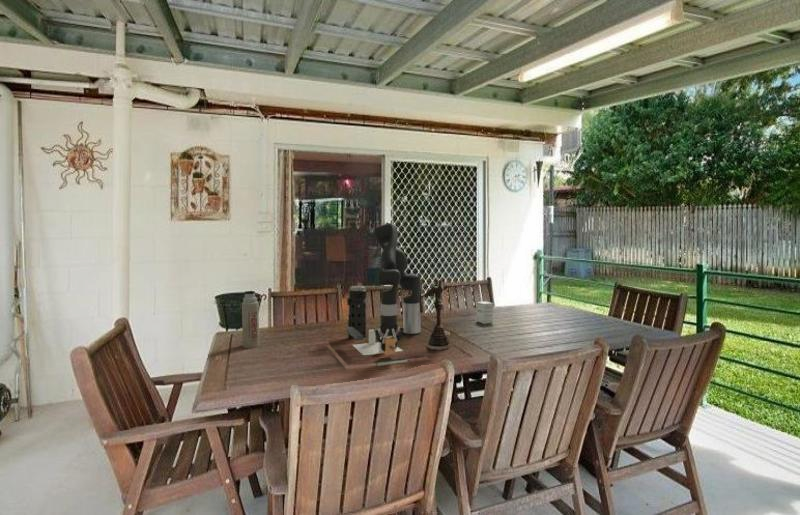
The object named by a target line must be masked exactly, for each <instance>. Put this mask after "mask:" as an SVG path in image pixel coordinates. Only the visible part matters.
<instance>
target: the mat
mask: <svg viewBox="0 0 800 515" xmlns="http://www.w3.org/2000/svg"><path fill="white" fill-rule="evenodd" d="M374 363H375V364H376V365H377V366H379V367H380V366H385V365H386V366H387V365H393V364H394V365H396V364H401V363H402V364H404V363H408V360H407V359H406V358H397V359H389V360H381V361H374Z"/></svg>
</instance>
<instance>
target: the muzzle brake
mask: <svg viewBox="0 0 800 515" xmlns="http://www.w3.org/2000/svg"><path fill="white" fill-rule="evenodd" d="M367 295H368V294H367V289H366V286H365V285H352V286H350V287H349V290H348V298H347V301H346V303H347V306H348V315H347V317H348V320H347V327H353V328H354V329H356V330H357V331H358V332H359V333H361V334H362V335H363V339H364V338H367V301H366V299H367ZM347 335H348V338H349V339H351V340H356V339H355V338H354V337H352V336H351V335H350V334H349V333H348V332H347Z"/></svg>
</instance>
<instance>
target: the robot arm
mask: <svg viewBox="0 0 800 515" xmlns="http://www.w3.org/2000/svg"><path fill="white" fill-rule="evenodd" d="M397 229H398V228H397V227H396V224H394V223H393V222H388V223H385V224H381V225H379V226H376V227H374V229H373V235H374V238H375V240H376V242H377V243H378V245H379V246H380V247H381V249H382V251H381V254H380V267H379V270H378V272H377V275H376V281H377V283H378V284H379V285H381V286H391V288H389V289H384V290H382V291H381V294H380V326H379V328H375V329H374V332H375V340H376V341H377V342H380V343H381V349H382V351H385V339H386V338H387V337H390V336H392V337H393V338H395V350H396V348H397V347H398V342H399V341H401V340H402V336H403V333H404V334H407V335H408V334H409V335H416V334H420V333H421V331H422V330H421V329H422V328H421V321H422V318H421V315H420V299H421V283H422V282H421V277H420V275H419V274H413V273H411V274H410V273H409V274H408V273H407V272H406V269H407V267H408V262H409V261H408V258H407V256H406V253H405V252H404V251H403V250H402V249H401V248H400V247H398V238H399V234H398V230H397ZM399 286H400V287H401V289H402V290H403V291H410V292H411V294H409V295H407V296H404V297H403V300H402V303H403V304H402V308H403V309H402V312H403V314H402V323H403V325H402V326H398V304H397V297H398V296H397V295H398V289H399ZM396 332H397V334H396ZM381 333H382V334H381ZM380 334H381V336H380ZM380 337H381V339H380Z"/></svg>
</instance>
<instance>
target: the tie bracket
mask: <svg viewBox="0 0 800 515" xmlns="http://www.w3.org/2000/svg"><path fill="white" fill-rule="evenodd" d="M381 337H382V336H380V339H381ZM376 341H377V340H376V336H375V332H374V329H373V328H372V329H368V343H367V342H366V343H358V344H352V346H353V348H355V349H356V350H357V351H358V352H359V353H360V354H361V355H362V356H371V355H377V354H378V355H379V354H380V355H381V354H384V353H383V351H382V349H381V343H380V342H378V341H377V342H376ZM403 351H404V350H403V349H402V348H400V347H398V346H397V348H396V350H395V353H397V352H403Z"/></svg>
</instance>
